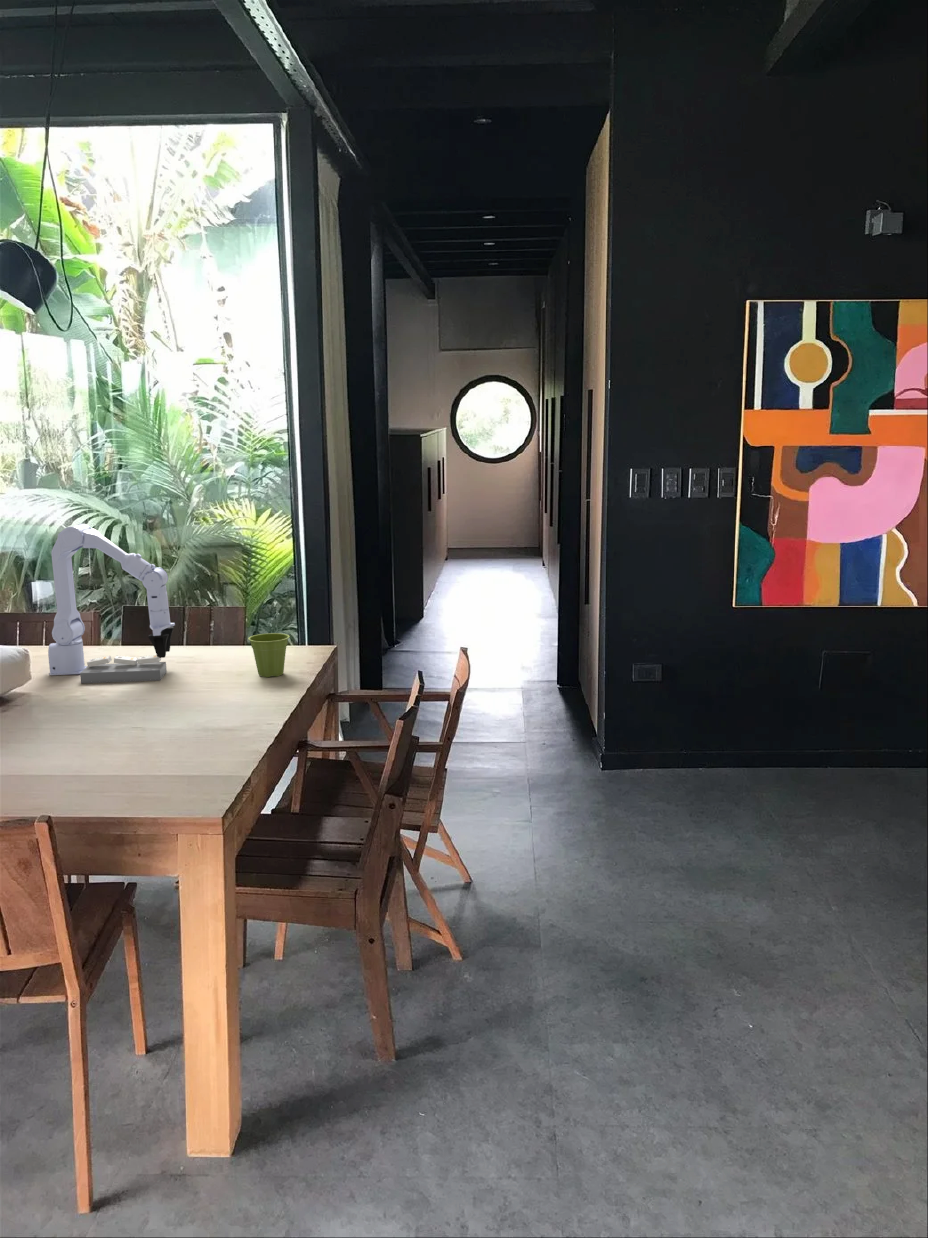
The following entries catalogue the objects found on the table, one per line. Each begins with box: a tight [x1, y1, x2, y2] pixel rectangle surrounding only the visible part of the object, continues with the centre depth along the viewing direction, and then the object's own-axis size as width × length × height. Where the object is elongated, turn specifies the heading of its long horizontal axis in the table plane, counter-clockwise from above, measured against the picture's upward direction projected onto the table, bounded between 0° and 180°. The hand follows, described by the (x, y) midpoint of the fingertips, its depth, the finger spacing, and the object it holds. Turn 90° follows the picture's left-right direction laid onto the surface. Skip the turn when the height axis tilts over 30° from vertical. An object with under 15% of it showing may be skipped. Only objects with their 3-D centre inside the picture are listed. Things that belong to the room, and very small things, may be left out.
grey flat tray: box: [79, 661, 168, 684], centre depth 282 cm, size 22×10×3 cm, turn 97°
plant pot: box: [248, 632, 291, 678], centre depth 284 cm, size 12×12×11 cm
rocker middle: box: [113, 655, 139, 665], centre depth 284 cm, size 6×4×2 cm, turn 98°
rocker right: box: [137, 654, 162, 664], centre depth 284 cm, size 6×4×2 cm, turn 97°
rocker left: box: [86, 655, 112, 667], centre depth 283 cm, size 6×4×2 cm, turn 97°
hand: (163, 654), depth 288 cm, fingers open, 7 cm apart
